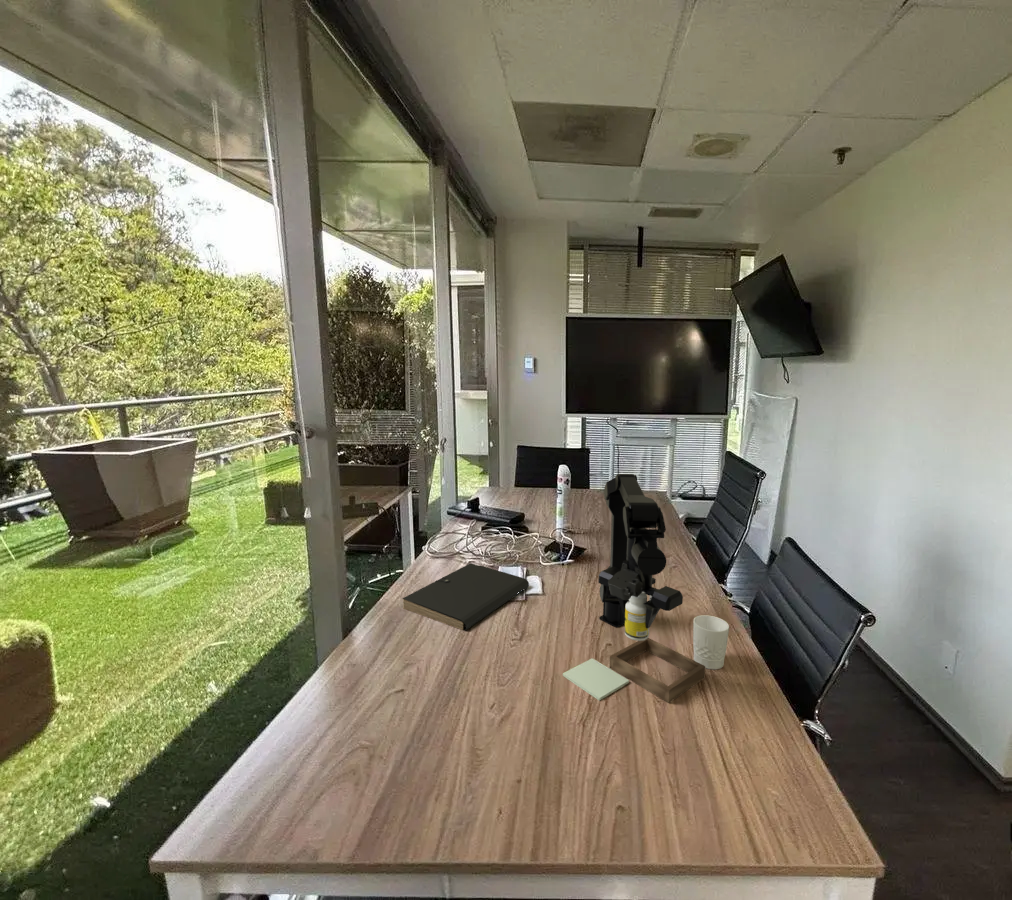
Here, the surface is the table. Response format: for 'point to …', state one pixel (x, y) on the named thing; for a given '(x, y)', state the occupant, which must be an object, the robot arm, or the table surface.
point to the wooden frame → (651, 684)
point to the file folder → (465, 595)
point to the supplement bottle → (636, 618)
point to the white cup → (710, 641)
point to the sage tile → (595, 678)
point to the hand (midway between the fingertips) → (636, 622)
